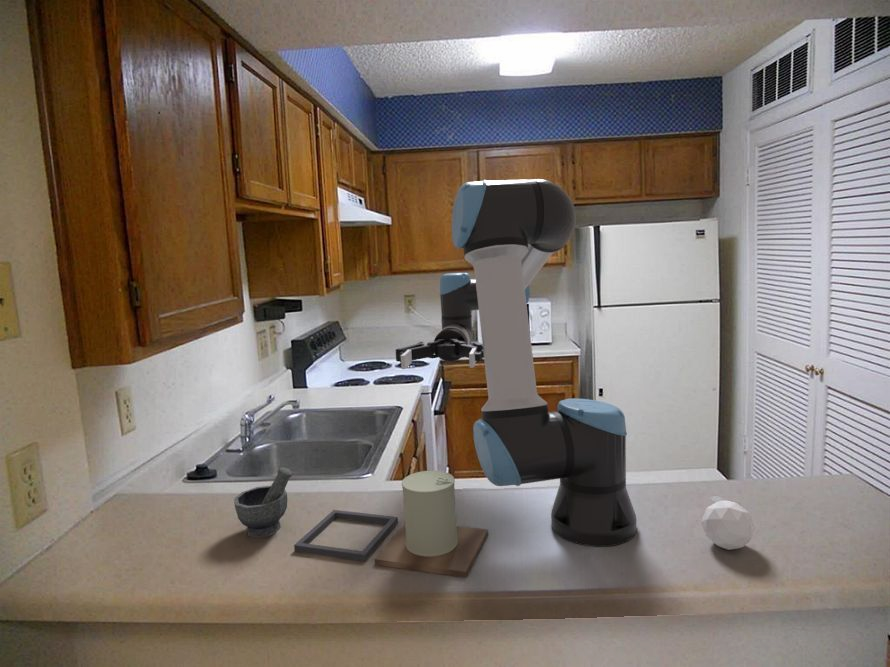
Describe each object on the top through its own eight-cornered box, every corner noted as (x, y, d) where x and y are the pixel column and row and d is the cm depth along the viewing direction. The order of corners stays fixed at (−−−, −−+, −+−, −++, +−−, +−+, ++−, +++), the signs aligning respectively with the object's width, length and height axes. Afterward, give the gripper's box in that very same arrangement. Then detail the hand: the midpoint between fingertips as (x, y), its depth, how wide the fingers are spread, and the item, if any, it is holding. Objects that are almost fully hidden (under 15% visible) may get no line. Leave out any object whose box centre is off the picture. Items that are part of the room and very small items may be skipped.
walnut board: (487, 534, 103) (487, 529, 103) (465, 577, 90) (465, 571, 90) (406, 525, 108) (406, 520, 108) (374, 564, 95) (374, 559, 95)
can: (452, 558, 94) (448, 490, 92) (399, 555, 96) (394, 488, 94) (462, 531, 103) (459, 468, 101) (413, 528, 105) (409, 466, 103)
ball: (720, 565, 94) (693, 533, 93) (717, 528, 101) (692, 497, 99) (766, 555, 90) (739, 520, 89) (760, 516, 97) (735, 484, 95)
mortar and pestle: (232, 544, 105) (224, 483, 103) (243, 521, 114) (236, 464, 112) (294, 537, 106) (288, 476, 104) (300, 515, 115) (294, 458, 113)
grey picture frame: (398, 522, 109) (397, 516, 109) (365, 561, 96) (364, 554, 96) (334, 515, 114) (333, 509, 114) (294, 551, 101) (293, 545, 101)
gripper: (506, 357, 130) (501, 379, 110) (400, 360, 134) (376, 381, 114) (505, 325, 129) (499, 341, 109) (398, 328, 133) (373, 344, 113)
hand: (436, 361), depth 111 cm, fingers open, 13 cm apart
